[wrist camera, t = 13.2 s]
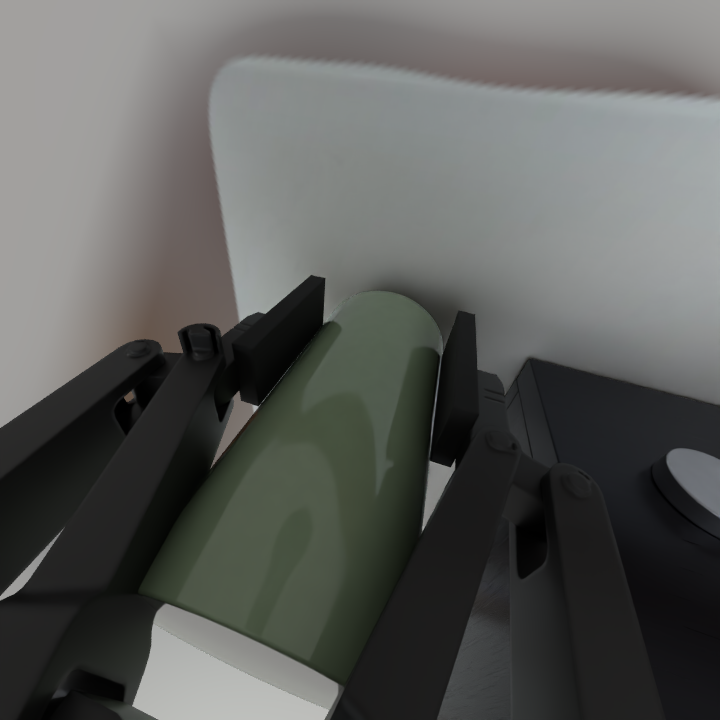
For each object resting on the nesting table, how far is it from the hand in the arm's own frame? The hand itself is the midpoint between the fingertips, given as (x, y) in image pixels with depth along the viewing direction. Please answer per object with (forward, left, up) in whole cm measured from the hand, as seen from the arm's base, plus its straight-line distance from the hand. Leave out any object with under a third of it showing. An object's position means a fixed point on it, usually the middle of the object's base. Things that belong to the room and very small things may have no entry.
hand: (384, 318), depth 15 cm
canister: (+2, -1, -1) cm, 3 cm away
